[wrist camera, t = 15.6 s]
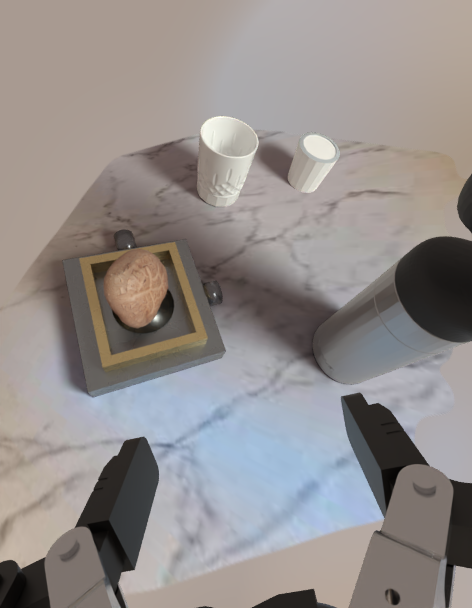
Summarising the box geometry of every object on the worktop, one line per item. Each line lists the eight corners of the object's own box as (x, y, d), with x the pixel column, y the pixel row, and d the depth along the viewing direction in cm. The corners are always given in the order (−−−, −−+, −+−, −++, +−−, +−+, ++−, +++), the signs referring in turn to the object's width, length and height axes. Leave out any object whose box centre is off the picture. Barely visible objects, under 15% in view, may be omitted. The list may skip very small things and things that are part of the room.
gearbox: (191, 232, 47) (195, 209, 43) (236, 353, 41) (245, 340, 36) (64, 253, 42) (53, 229, 37) (93, 397, 35) (83, 388, 31)
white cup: (247, 184, 54) (265, 130, 45) (233, 217, 50) (248, 166, 41) (203, 166, 53) (212, 108, 45) (185, 198, 50) (191, 142, 41)
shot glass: (318, 200, 56) (338, 168, 49) (280, 187, 55) (296, 152, 49) (323, 174, 59) (342, 140, 53) (287, 161, 58) (302, 126, 52)
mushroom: (151, 270, 40) (150, 229, 33) (184, 305, 39) (190, 271, 32) (97, 305, 36) (82, 268, 29) (132, 345, 35) (125, 317, 28)
